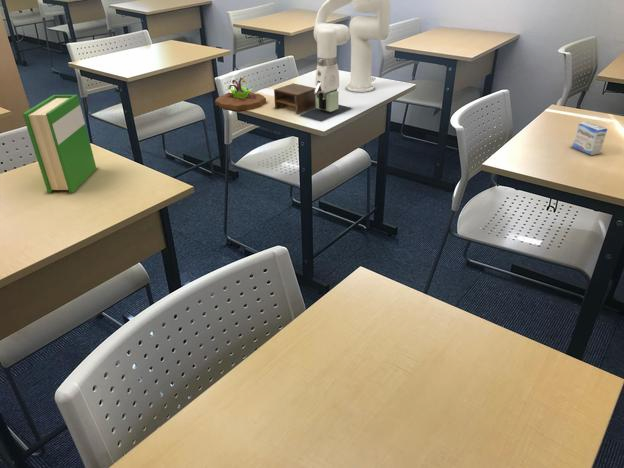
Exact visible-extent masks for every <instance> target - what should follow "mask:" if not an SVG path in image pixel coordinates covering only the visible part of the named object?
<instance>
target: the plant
mask: <svg viewBox="0 0 624 468" xmlns="http://www.w3.org/2000/svg"><path fill="white" fill-rule="evenodd" d="M231 83H232V84H229V85H228V86H227V89H228V90H229V91H230V92H226V93H224V94H223V95H220V96H218V97H216V99H215V100H214V104H215V106H216V107H219V108H220V109H223V110H230V111H235V112H240V111H248V110H252V109H256V108H259V107H261V106H262V105H264V104H267V98H266V96H264V95H262V94H261V93H255V92H252V89H253V88H249V89H247V87H246V86H242V83H243V84H244V83H246V79H245V78H244V77H240V78H239V79H238V81H237V80H236V79H233V80H231ZM232 87H234V89H233V88H232Z"/></svg>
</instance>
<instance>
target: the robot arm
mask: <svg viewBox="0 0 624 468" xmlns="http://www.w3.org/2000/svg"><path fill="white" fill-rule="evenodd" d="M351 3H352V6H353V9H354V11H355V12H357V13H359V14H374V15H376V16H372V15H357V16H354V17H352V18H351V19H350V21H349V26H347V25H345V24H341V23H327V20H328V18H329V16H330V15H331V14H332V13H334V12H335V11H337V10H338V9H341V8H343V7H345V6H347V5H349V4H351ZM390 20H391V0H325V2H323V4H322V5H321V6H320V7H319V8H318V11H317V14H316V16H315V22H314V26H313V27H314V28H313V39H314V40H315V42H316V57H317V58H316V64H317V65H316V71H315V88H316V89H315V91H314V94H315V95H317V97H318V99H319V108H320V109H324V110H325V109H326V100H325V95H326V93H328V92H330V91H338V89H339V88H340V72H339V71H340V70H339V66H338V63H337V59H338V58H337V53H338V52H337V50H338V49H337V47H338V46H344V45H345V44H347V43H348V42H349V40H350V44H351V45H350V83H348V84H347V86H346V90H348V91H349V92H355V93H367V92H371V91H373V90H374V89H375V85H374V84H373V82H375V81H376V80H377V78H376V77H375V76H372V67H373V66H372V64H373V48H372V44H371V43H370V41H385V40H386V39H387V38H388V37H389V34H390V22H391V21H390ZM321 93H323V96H322V95H321Z"/></svg>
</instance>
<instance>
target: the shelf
mask: <svg viewBox="0 0 624 468" xmlns="http://www.w3.org/2000/svg"><path fill="white" fill-rule="evenodd" d="M315 89H316V87H312V86H308V85H303V84H298V83H289V84H287V85H284V86H281V87H278V88H274V89H273V93H274V95H273V97H274V98H273V99H274V109H280V108H283V107H285V106H291V107H295V108H296V111H295V112H296V115H301V114H303V113H306V112H308V111H311V110H314V109H316V97H315V94H314V91H315Z"/></svg>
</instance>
